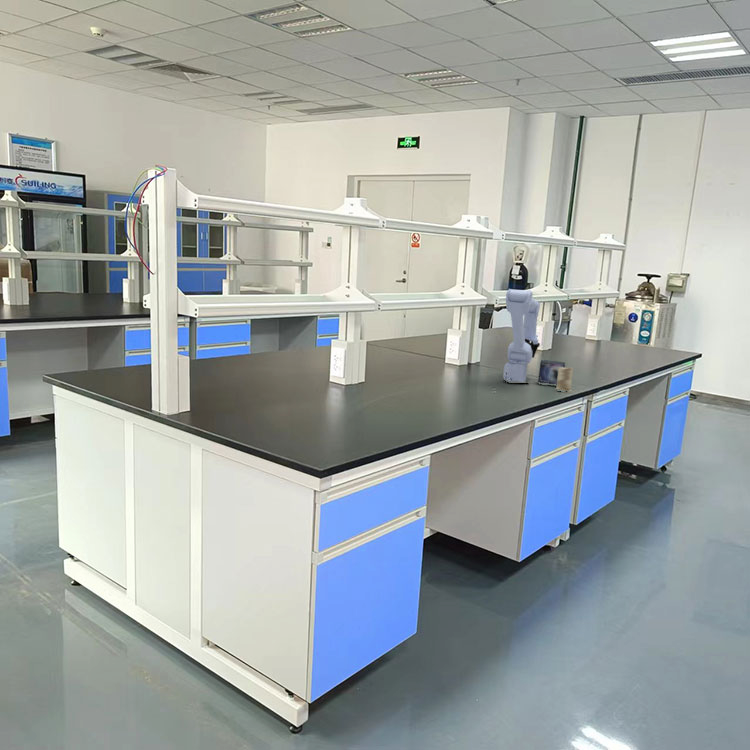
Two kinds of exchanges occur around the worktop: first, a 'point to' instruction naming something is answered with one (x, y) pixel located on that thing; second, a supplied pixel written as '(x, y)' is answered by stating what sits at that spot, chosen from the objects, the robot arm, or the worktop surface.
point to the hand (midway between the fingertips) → (527, 355)
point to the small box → (549, 371)
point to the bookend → (564, 379)
